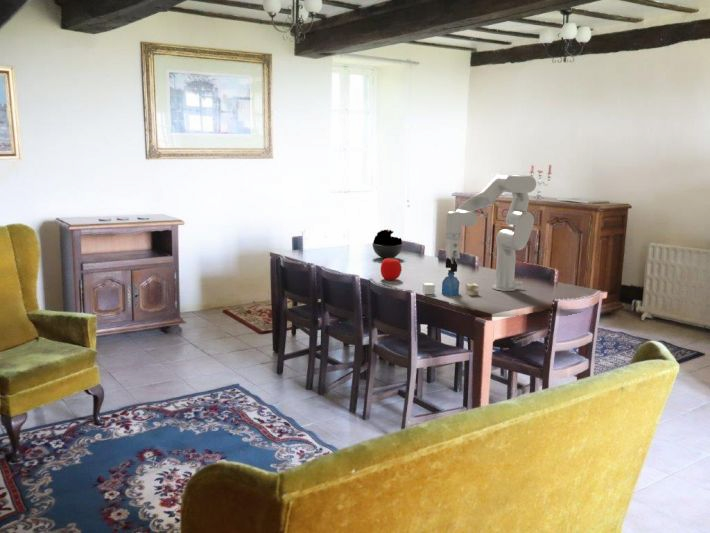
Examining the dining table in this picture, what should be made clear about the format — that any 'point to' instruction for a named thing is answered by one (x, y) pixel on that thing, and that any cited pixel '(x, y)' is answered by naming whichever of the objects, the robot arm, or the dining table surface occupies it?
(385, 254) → the coal bowl
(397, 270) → the tomato
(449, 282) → the perfume bottle
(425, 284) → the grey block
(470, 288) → the birch block
